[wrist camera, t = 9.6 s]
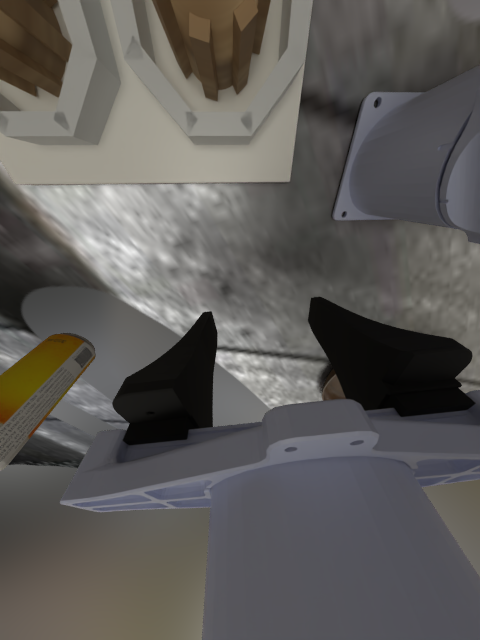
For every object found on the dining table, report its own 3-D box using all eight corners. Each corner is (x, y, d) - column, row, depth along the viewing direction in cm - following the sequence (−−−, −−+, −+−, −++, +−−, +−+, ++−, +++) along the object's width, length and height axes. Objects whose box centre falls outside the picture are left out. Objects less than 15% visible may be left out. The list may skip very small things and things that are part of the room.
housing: (333, -243, 7) (416, -590, 4) (285, 182, 16) (299, 179, 12) (-235, -283, 7) (-678, -735, 3) (32, 184, 15) (-22, 183, 12)
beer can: (40, 334, 24) (-145, 472, 12) (79, 326, 24) (-73, 462, 12) (72, 361, 28) (-47, 489, 16) (107, 355, 28) (12, 482, 16)
